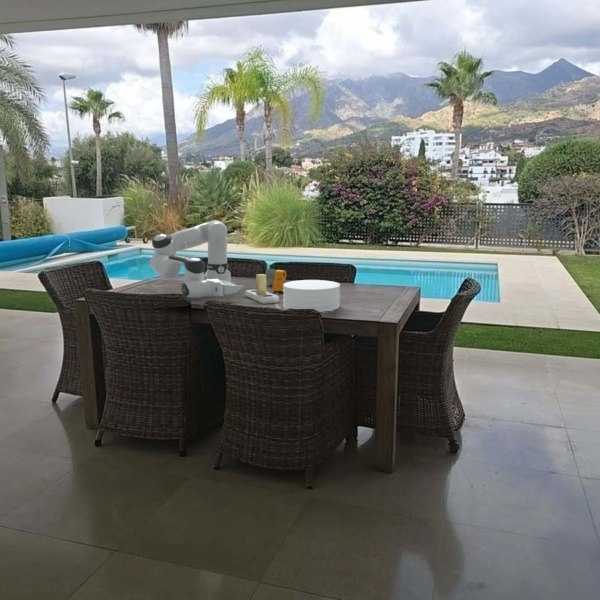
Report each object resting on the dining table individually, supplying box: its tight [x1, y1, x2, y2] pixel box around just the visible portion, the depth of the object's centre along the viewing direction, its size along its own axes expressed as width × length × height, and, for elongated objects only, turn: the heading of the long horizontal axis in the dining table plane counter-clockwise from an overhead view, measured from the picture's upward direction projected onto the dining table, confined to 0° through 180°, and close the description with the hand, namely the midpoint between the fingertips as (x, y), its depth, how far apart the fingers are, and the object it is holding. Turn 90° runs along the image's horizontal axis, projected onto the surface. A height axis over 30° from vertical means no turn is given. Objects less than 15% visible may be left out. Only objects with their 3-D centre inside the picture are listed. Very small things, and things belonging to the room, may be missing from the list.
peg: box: [255, 273, 267, 295], centre depth 307 cm, size 4×4×13 cm
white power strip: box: [244, 289, 280, 305], centre depth 308 cm, size 24×9×3 cm, turn 27°
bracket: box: [271, 269, 287, 293], centre depth 330 cm, size 11×7×12 cm, turn 152°
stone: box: [265, 268, 286, 286], centre depth 348 cm, size 15×5×10 cm, turn 47°
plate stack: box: [282, 279, 341, 311], centre depth 288 cm, size 28×28×12 cm
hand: (240, 285), depth 302 cm, fingers open, 8 cm apart
